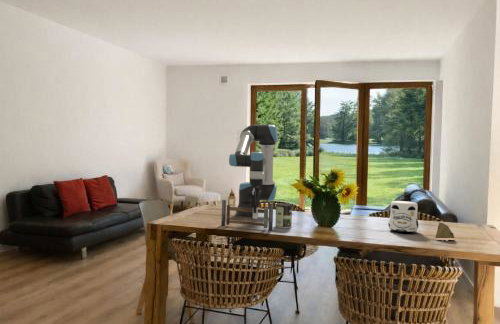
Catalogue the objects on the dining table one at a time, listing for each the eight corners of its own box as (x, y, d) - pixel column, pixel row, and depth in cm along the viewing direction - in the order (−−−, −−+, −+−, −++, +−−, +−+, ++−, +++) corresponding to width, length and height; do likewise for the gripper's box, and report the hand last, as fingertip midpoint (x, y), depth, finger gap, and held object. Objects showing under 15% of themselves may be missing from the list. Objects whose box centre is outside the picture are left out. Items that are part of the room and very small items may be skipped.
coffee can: (292, 225, 267) (293, 203, 267) (290, 228, 257) (291, 205, 257) (276, 224, 270) (277, 202, 269) (273, 227, 259) (274, 204, 259)
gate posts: (222, 225, 262) (223, 199, 261) (272, 230, 252) (273, 203, 252) (220, 225, 260) (221, 199, 259) (271, 230, 250) (272, 203, 249)
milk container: (397, 235, 250) (399, 204, 249) (382, 228, 267) (384, 200, 266) (423, 234, 253) (425, 204, 252) (407, 228, 270) (409, 200, 269)
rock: (456, 235, 242) (438, 231, 247) (458, 225, 237) (439, 221, 242) (452, 249, 235) (433, 244, 240) (454, 239, 230) (434, 234, 235)
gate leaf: (227, 224, 261) (227, 204, 260) (267, 227, 253) (268, 208, 252) (225, 224, 259) (226, 205, 258) (266, 228, 251) (267, 208, 251)
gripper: (259, 179, 240) (258, 220, 242) (265, 177, 253) (264, 217, 254) (246, 178, 243) (245, 219, 244) (253, 177, 255) (252, 216, 256)
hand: (255, 218), depth 249 cm, fingers closed
